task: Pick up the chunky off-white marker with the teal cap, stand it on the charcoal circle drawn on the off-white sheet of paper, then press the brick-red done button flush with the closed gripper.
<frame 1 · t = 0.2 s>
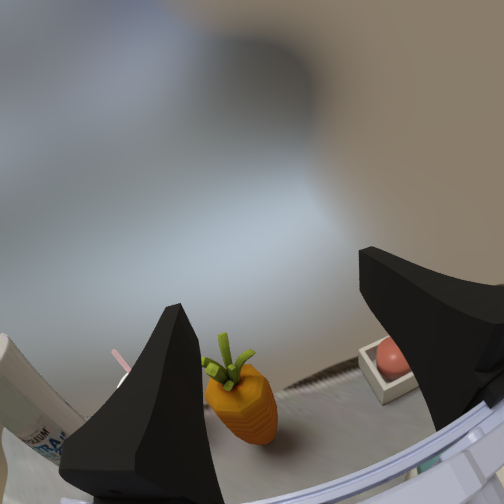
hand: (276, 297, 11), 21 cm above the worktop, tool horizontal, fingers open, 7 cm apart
marker: (424, 481, 16), on the worktop
button housing: (393, 373, 28), on the worktop
carrot: (267, 441, 25), on the worktop
done button: (396, 356, 26), point 3 cm above the worktop, slide at 0.0 cm
spray can: (117, 473, 24), on the worktop
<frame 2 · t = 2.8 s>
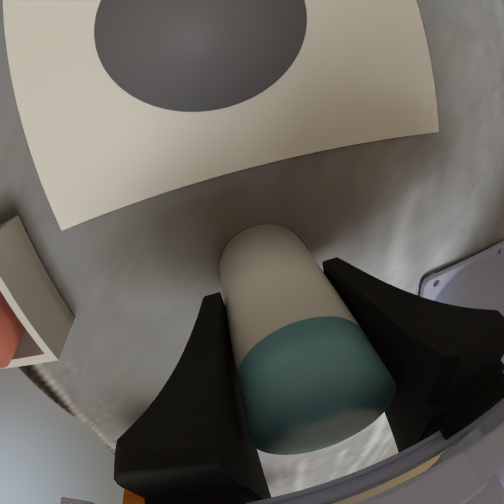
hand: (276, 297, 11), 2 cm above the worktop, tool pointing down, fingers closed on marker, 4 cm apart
marker: (263, 265, 14), on the worktop, touching gripper
button housing: (8, 284, 11), on the worktop
paper sheet: (226, 8, 8), on the worktop
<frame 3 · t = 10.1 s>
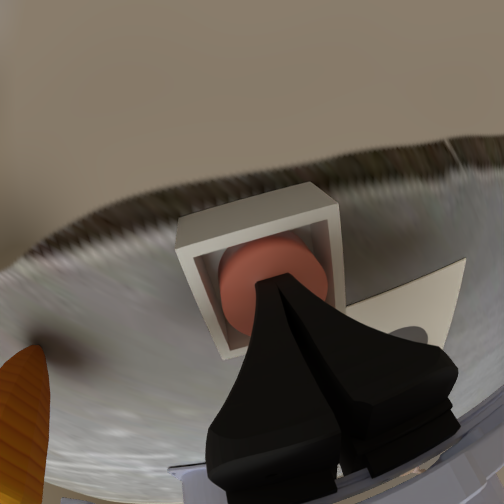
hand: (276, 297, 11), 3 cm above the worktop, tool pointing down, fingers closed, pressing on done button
button housing: (259, 256, 14), on the worktop
carrot: (40, 344, 15), on the worktop
done button: (271, 284, 12), point 2 cm above the worktop, slide at 0.6 cm, touching gripper
paper sheet: (386, 369, 22), on the worktop
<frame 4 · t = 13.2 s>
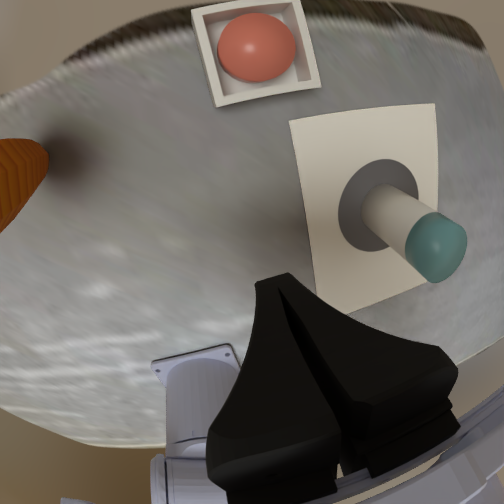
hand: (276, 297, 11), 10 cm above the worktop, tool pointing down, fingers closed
marker: (381, 207, 22), resting on paper sheet
button housing: (249, 53, 16), on the worktop
carrot: (46, 156, 16), on the worktop
done button: (254, 48, 14), point 2 cm above the worktop, slide at 1.1 cm
paper sheet: (381, 217, 23), on the worktop
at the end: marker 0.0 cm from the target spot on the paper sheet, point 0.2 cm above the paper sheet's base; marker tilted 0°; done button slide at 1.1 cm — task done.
